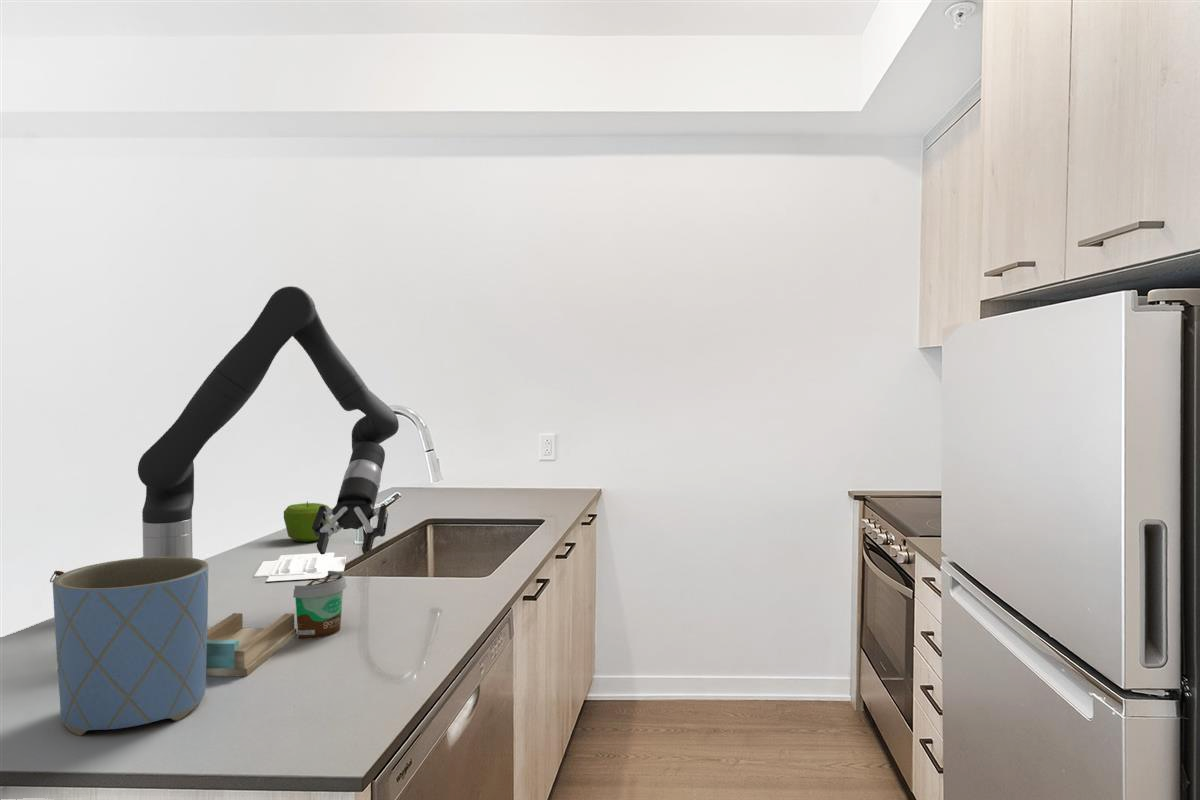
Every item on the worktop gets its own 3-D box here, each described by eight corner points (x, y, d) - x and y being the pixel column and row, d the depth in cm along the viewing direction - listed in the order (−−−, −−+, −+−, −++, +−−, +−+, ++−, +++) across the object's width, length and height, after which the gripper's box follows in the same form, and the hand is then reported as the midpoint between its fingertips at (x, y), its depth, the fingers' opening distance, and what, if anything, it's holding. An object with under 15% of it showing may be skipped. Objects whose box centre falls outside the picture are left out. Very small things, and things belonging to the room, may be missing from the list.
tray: (249, 586, 182) (249, 570, 183) (265, 563, 209) (265, 549, 209) (343, 580, 188) (343, 565, 188) (347, 559, 215) (347, 545, 215)
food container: (324, 643, 142) (324, 588, 142) (293, 641, 143) (293, 586, 143) (359, 622, 154) (358, 571, 154) (330, 620, 155) (329, 569, 155)
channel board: (172, 675, 127) (171, 643, 127) (231, 634, 147) (231, 606, 147) (247, 676, 127) (246, 643, 127) (296, 635, 147) (296, 607, 146)
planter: (40, 751, 101) (36, 595, 101) (71, 696, 119) (68, 563, 118) (206, 725, 109) (204, 580, 108) (213, 677, 126) (211, 551, 126)
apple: (275, 543, 226) (275, 504, 226) (299, 535, 238) (298, 497, 238) (316, 545, 224) (316, 505, 224) (338, 536, 236) (337, 498, 236)
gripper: (322, 475, 165) (301, 541, 154) (390, 475, 165) (375, 541, 154) (331, 496, 171) (312, 562, 160) (397, 496, 171) (383, 562, 160)
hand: (343, 552), depth 157 cm, fingers open, 8 cm apart
